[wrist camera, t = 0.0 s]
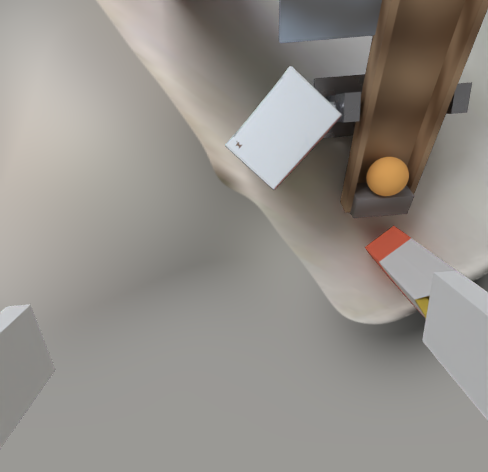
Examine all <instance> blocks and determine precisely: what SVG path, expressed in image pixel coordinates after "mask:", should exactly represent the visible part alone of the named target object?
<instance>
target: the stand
mask: <svg viewBox="0 0 488 472" xmlns="http://www.w3.org/2000/svg"><path fill="white" fill-rule="evenodd" d="M364 79H365V74H364V75H352V76H340V77H328V78H316V79H314V88H315V89H316V90H317V91H318V92H319V93H320V94H321V95H322V96H323V97H325V98H326V99H327V100H328V101H329V102H330V103H331V104H332V105H333V106H334V107H335V108H336V109H337V110H338V111H339V112H340V113H341V114H342V116H341V117H340V118H339V120H338V121H337V122H336V123H335V124H334V125H333V126H332V128H331V129H330V130H329V131H328V132H327V133H326V135H325V136H324V137H323V138H329V137H341V136H353V134H354V129H355V124H356V121H359V120H360V102H361V94H362V89H363V84H364ZM471 86H472V83H460V84H457V87H456V90H455V92H454V95H453V97H452V100H451V102H450V105H449V107H448V110H447V112H446V114H453V113H465V112H467V109H468V103H469V98H470V92H471Z"/></svg>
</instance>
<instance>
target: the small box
mask: <svg viewBox="0 0 488 472" xmlns="http://www.w3.org/2000/svg"><path fill="white" fill-rule="evenodd" d="M341 116H342V114H341V113H340V112H339V111H338V110H337V109H336V108H335V107H334V106H333V105H332V104H331V103H330V102H329V101H328V100H327V99H326V98H325V97H323V96H322V95H321V94H320V93H319V92H318V91H317V90H316V89H315V88H314V87H313V86H312V85H311V84H310V83H309V82H308V81H307V80H306V79H305V78H304V77H303V76H302V75H301V74H300V73H299V72H298V71H296V70H295V69H294V68H293V67H292V66H289V67H288V69H287V70H286V71H285V73H284V74H283V75H282V77H281V78H280V80H279V81H278V82H277V83H276V85H275V86H274V87H273V88H272V90H271V91H270V92H269V93H268V95H267V96H266V97H265V98H264V99H263V101H262V102H261V103H260V104H259V106H258V107H257V108H256V109H255V111H254V112H253V113H252V114H251V115H250V117H249V118H248V119H247V120H246V121H245V123H244V124H243V125H242V126H241V127H240V129H239V130H238V131H237V132H236V133H235V134H234V135H233V136H232V137H231V139H230V140H229V141H228V142H227V143H226V144H225V146H226V147H227V148H228V149H229V150H230V151H231V152H232V153H233V154H234V155H235V156H236V157H238V158H239V159H240V160H241V161H242V162H243V163H244V164H245V165H246V166H247V167H249V168H250V169H251V170H252V171H253V172H254V173H255V174H256V175H257V176H258V177H260V178H261V179H262V180H263V181H264V182H265V183H266V184H267V185H268V186H270V187H271V188H272V189H273V190H275V189H276V188H277V187H278V186H279V185H280V184H281V182H282V181H283V180H284V179H285V178H286V177H287V176H288V175H289V174H290V173H291V172H292V171H293V170H294V169H295V168H296V167H297V165H298V164H299V163H300V162H301V161H302V160H303V159H304V158H305V157H306V156H307V155H308V154H309V153H310V151H311V150H312V149H313V148H314V147H315V146H316V145H317V144H318V142H319V141H320V140H321V139H322V138H323V137H324V136H325V135H326V133H327V132H328V131H329V130H330V129H331V128H332V126H333V125H334V124H335V123H336V122H337V121H338V120H339V118H340V117H341Z"/></svg>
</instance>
